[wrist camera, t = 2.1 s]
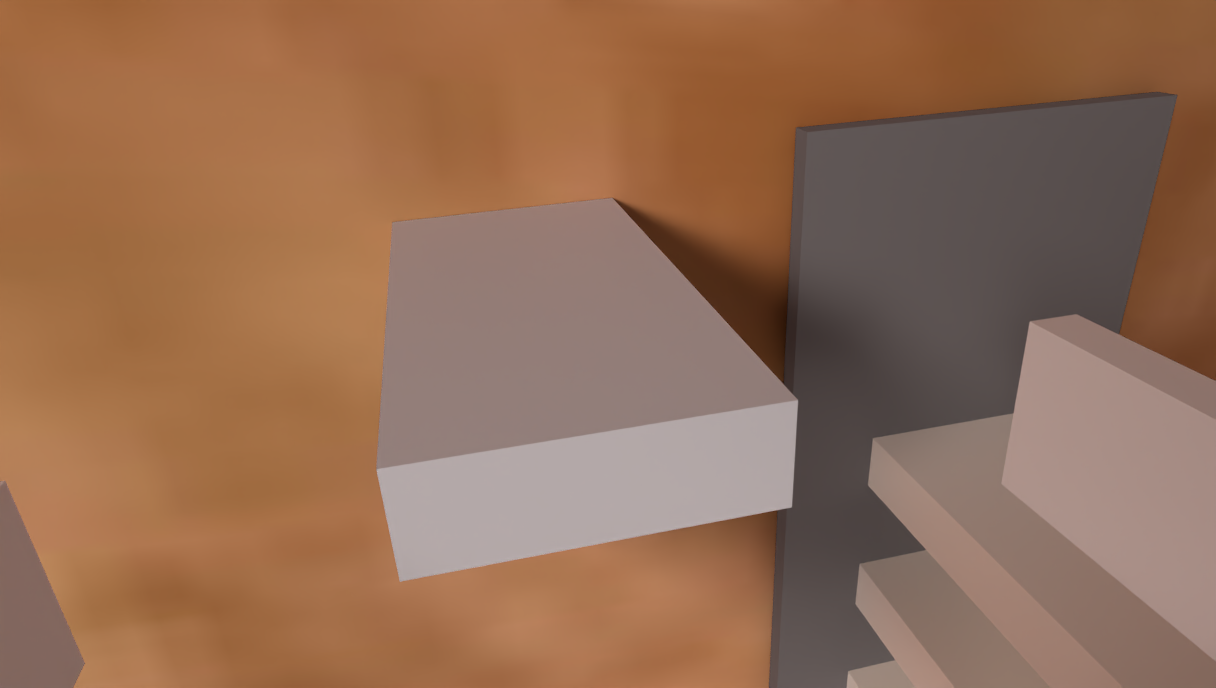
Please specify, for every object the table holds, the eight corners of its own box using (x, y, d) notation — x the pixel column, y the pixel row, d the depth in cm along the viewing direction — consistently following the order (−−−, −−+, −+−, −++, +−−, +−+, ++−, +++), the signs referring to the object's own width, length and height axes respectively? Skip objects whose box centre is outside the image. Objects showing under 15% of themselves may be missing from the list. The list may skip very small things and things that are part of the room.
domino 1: (392, 222, 18) (377, 468, 9) (612, 197, 19) (797, 399, 10) (404, 289, 18) (400, 581, 10) (615, 263, 19) (792, 506, 10)
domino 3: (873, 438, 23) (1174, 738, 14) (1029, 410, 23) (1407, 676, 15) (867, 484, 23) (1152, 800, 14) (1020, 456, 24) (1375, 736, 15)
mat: (796, 127, 19) (807, 132, 18) (1157, 91, 21) (1177, 95, 20) (757, 928, 33) (763, 944, 32) (976, 865, 34) (985, 879, 34)
